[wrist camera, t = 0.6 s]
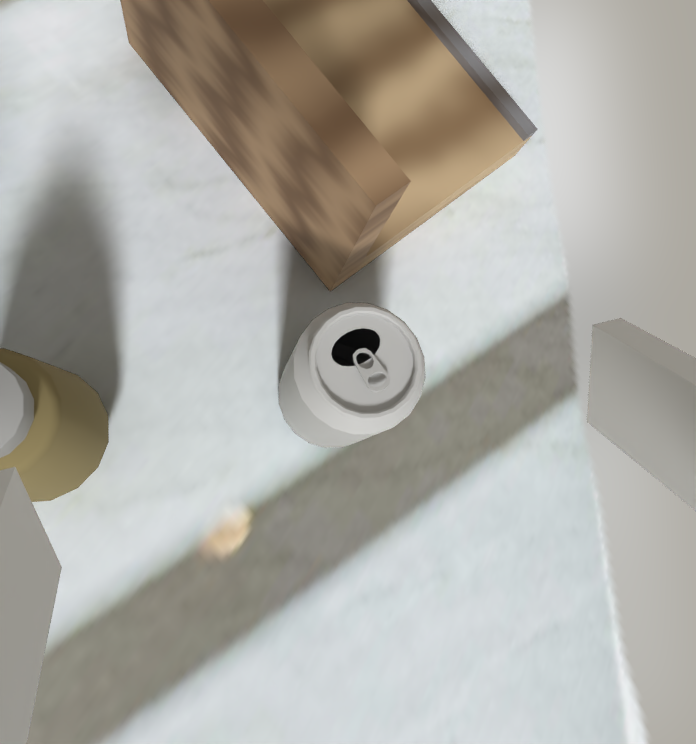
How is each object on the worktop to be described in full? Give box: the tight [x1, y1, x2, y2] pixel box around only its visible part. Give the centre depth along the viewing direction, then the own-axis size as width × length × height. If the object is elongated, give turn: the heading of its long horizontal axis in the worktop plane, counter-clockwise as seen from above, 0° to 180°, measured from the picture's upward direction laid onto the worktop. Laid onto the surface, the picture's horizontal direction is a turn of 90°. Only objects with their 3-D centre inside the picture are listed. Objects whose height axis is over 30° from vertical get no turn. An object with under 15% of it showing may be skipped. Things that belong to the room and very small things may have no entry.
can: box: [278, 303, 425, 448], centre depth 38 cm, size 8×8×12 cm
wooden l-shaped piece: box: [120, 0, 537, 291], centre depth 42 cm, size 24×20×14 cm
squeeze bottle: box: [0, 348, 109, 502], centre depth 31 cm, size 8×8×18 cm
